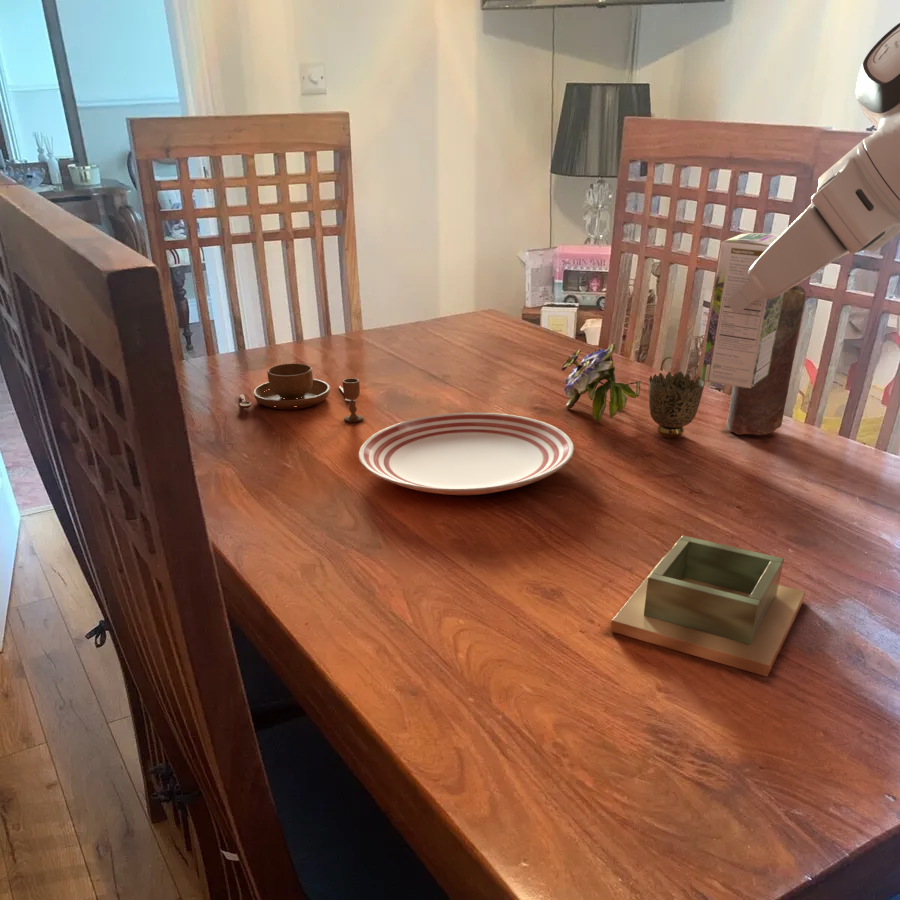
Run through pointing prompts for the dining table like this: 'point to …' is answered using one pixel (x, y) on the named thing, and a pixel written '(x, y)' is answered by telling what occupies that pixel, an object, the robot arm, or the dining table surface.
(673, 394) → the cup
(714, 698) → the dining table surface
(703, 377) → the syrup box
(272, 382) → the place setting
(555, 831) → the dining table surface
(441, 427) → the dinner plate
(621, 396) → the passion flower
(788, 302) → the tall brown vase
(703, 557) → the socket pad
